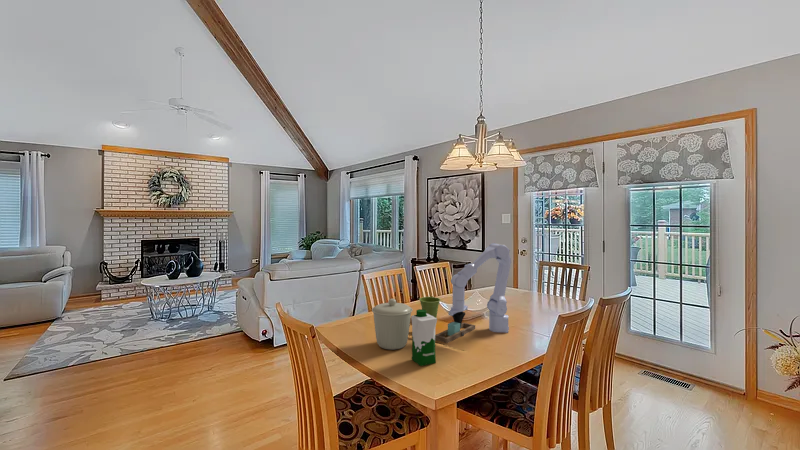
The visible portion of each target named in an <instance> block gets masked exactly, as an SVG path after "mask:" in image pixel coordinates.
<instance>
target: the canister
mask: <svg viewBox="0 0 800 450" xmlns="http://www.w3.org/2000/svg"><path fill="white" fill-rule="evenodd" d="M413 310H414V309H413V308H412V307H411V306H410V305H408V304H406V303H402V302H397V300H396V299H395V298H390V299H388V302H384V303H383V302H382V303H379V304H376V305H375V306H373V307H372V308H371V311H372V314H373V321H374V322H373V323H374V332H375V338H376V343H377V345H378V346H379V347H380V348H382V349H385V350H389V351H390V350H391V351H392V350H399V349H403V348H405V346H406V345H407V343H408V340H409V333H410V325H411V316H412V315H411V314H412V312H413Z"/></svg>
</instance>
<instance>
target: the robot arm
mask: <svg viewBox="0 0 800 450" xmlns="http://www.w3.org/2000/svg"><path fill="white" fill-rule="evenodd" d="M510 251H511V250H510V249H509V247H507V245H506V244H501V243H495V242H492V243H490V244H489V245H488V246H487V247H486V248H485V249H484V251H483V252H481V254H480V255H479V256H478V257H476V259H475V260H474V261H473V262H472V263H468V264H464V267H463V268H462V269H461V270H460V271H458V272H457V273H456V274H454V275H453V276H452V277H451V279H450V282H451V285H452V306H450V310H448V316H450V317H452V318H453V322H458V323H460V327H461V324H462V323H463V320H464V318H465V316H466V312H465V311H467V310H468V305H465V294H466V293H465V287H466V286H467V284H468V281H470V279H471V278H473V276H475V275H476V274H477V272H478V269H479V268H480V267H481V266H482V265H483V264H484V263H486V262H487V261H488V260H489V259H495V260H496V261H497V262H498V268H497V273H496V277H495V282H494V289H493V293H492V294H491V295H490V296H489V297H490V298H489V300H488V301H487V304H486V307H487V310H488V316H489V317H488V330H489V331H490V332H493V333H506V334H508V333H509V331H510V326H509V315H508V314H506V313H507V311H508V306H507V303H508V301H507V299H506V297H505V295H506V290H507V285H508V279H509V275H510V269H511V263H512V260H511V256H510Z"/></svg>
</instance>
